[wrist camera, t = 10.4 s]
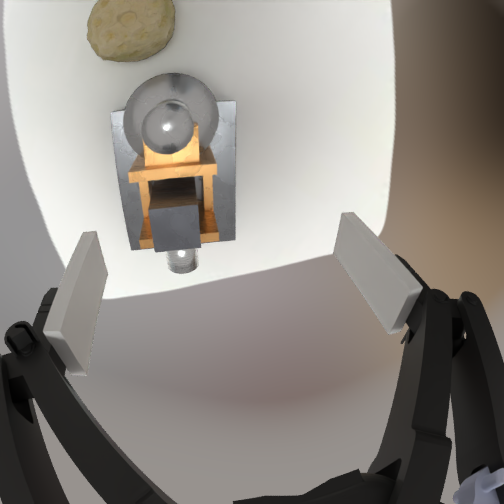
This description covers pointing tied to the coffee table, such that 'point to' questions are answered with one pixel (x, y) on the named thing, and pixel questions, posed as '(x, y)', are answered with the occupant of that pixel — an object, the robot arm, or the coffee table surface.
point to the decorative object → (130, 28)
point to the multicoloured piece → (176, 158)
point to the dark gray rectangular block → (174, 214)
